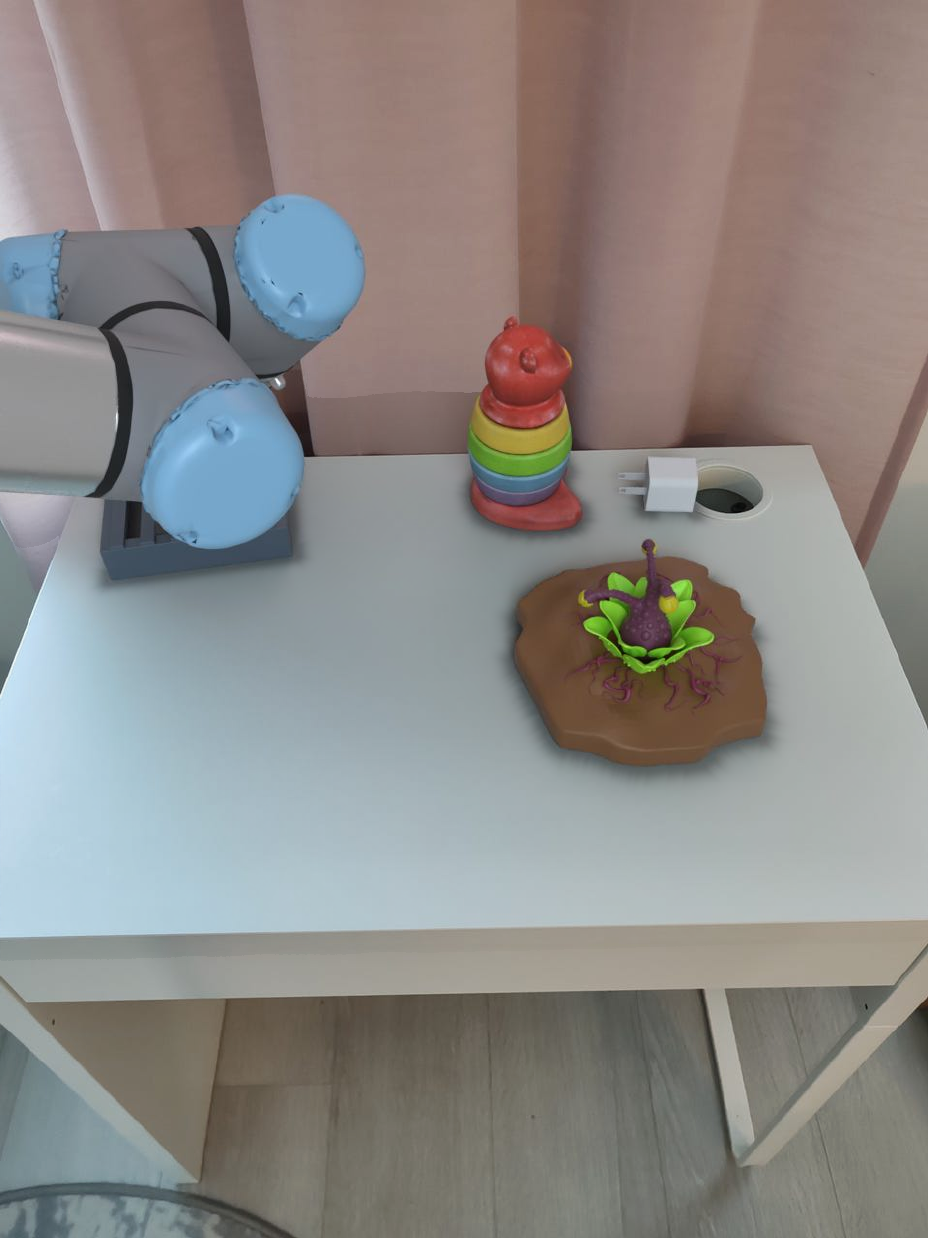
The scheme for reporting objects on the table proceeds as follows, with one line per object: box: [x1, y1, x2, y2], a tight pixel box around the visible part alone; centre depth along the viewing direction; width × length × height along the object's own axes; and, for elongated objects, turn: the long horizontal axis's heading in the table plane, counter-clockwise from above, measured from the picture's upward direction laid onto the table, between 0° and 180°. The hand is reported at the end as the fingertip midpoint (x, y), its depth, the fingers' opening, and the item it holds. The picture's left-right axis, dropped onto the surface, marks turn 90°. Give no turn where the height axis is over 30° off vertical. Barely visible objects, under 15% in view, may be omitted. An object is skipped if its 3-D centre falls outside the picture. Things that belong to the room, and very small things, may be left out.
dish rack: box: [99, 499, 293, 581], centre depth 91 cm, size 16×12×4 cm
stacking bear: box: [467, 316, 583, 532], centre depth 88 cm, size 11×10×18 cm
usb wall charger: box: [616, 456, 699, 513], centre depth 92 cm, size 4×7×4 cm, turn 87°
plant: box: [513, 538, 768, 767], centre depth 77 cm, size 20×20×11 cm
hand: (159, 429), depth 87 cm, fingers closed on plastic cup, 9 cm apart
